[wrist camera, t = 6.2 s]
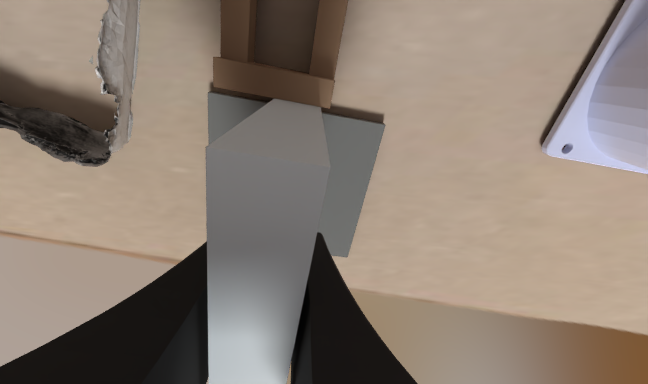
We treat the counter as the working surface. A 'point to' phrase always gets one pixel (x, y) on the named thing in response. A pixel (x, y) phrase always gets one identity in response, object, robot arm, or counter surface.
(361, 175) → the mat
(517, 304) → the counter surface
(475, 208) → the counter surface
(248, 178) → the board
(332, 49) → the rack
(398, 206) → the counter surface
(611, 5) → the counter surface
